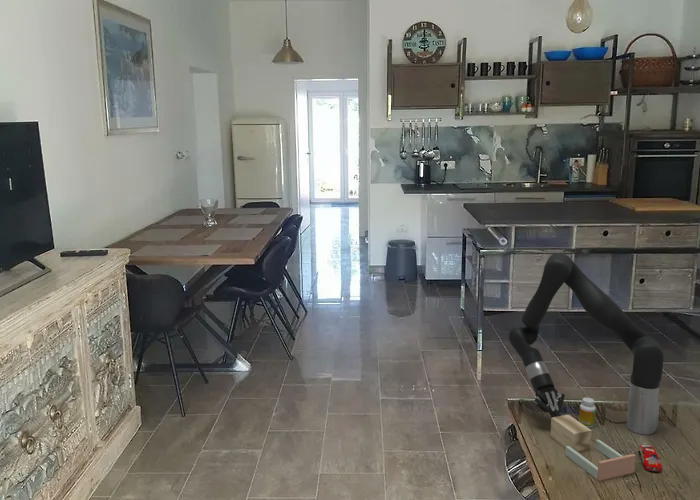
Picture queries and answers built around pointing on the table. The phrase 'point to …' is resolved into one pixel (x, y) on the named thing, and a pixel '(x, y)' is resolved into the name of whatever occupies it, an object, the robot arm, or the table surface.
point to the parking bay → (604, 462)
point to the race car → (650, 458)
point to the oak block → (571, 433)
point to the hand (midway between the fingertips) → (558, 422)
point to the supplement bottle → (587, 412)
